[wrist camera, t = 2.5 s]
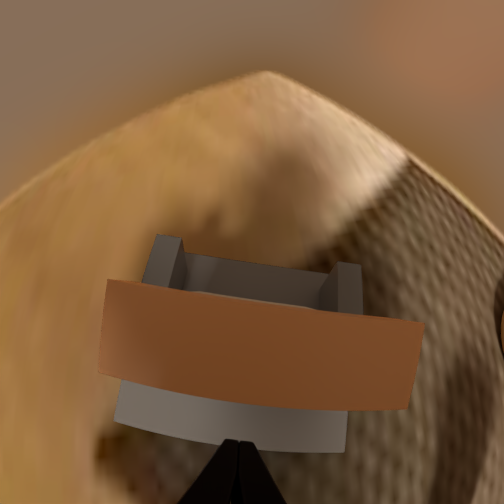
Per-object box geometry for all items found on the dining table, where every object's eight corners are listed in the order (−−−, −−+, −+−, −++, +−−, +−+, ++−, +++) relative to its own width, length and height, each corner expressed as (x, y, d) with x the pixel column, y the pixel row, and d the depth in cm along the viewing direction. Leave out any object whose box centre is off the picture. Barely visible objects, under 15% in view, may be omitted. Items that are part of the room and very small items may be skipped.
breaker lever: (301, 333, 15) (406, 409, 4) (193, 318, 15) (98, 372, 4) (306, 302, 15) (424, 323, 5) (198, 286, 15) (107, 279, 5)
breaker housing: (338, 451, 16) (404, 459, 9) (118, 421, 16) (58, 414, 9) (345, 311, 21) (397, 253, 15) (151, 282, 21) (122, 211, 14)
